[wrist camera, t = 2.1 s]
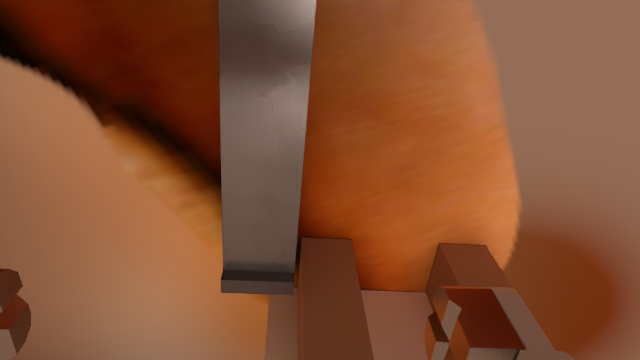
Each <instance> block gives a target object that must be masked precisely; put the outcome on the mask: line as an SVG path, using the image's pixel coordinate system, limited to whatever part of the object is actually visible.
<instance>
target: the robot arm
mask: <svg viewBox="0 0 640 360" xmlns="http://www.w3.org/2000/svg"><path fill="white" fill-rule="evenodd" d="M22 286H23V285H22V282H21V280H20V277H19V274H18V272H16V271H13V270H11V269H1V268H0V360H8V359H10V358H11V357H13V356H15V355H16V354H17V353H18V352H19V350H20V349H21V347H22V345H23V344H24V342H25V341H26V338H27V335H28V332H29V329H30V326H31V312H30V309H29V305H28V303H27V302H25V301H24V300H23V299H22V298H21V297H19V296H18V295H17V293H18V292H19V290H20V289H21V288H22ZM432 301H433V304H434V307H435V309H436V310H435V311H434V312H433V313H432V314H431V315H429V316H428V318H427V322H426V326H425V348H426V354H427V357H428V360H575V359H573V358H572V357H571V356H569V355H568V354H566V353H565V352H560V351H555V349H554V348H553V346H552V345H551V343H550V342H549V340H548V339H547V337H546V336H545V334H544V333H543V331H542V330H541V328H540V327H539V325H538V324H537V322H536V321H535V319H534V317H533V316H532V314H531V313H530V312H529V310H528V308H527V307H526V305H525V304H524V302H523V301H522V299H521V298H520V296H519V295H518V293H517V292H516V291H515V290H514V289H512V288H510V287H486V288H484V287H456V286H438V288H437V289H436V291H435V293H434V296H433V300H432Z"/></svg>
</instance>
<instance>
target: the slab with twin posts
mask: <svg viewBox="0 0 640 360" xmlns="http://www.w3.org/2000/svg"><path fill="white" fill-rule="evenodd" d="M438 286H456V287H484V288H486V287H510V288H512V289H513V287H512V286H511V284H510V283H509V281H508V280H507V278H506V277H505V275H504V274H503V272H502V270H501V269H500V267H499V265H498V264H497V262H496V261H495V259H494V258H493V256H492V255H491V253H490V251H489V250H488V248H487V247H486V246H484V245H462V244H441V243H439V246H438V249H437V253H436V257H435V260H434V264H433V268H432V271H431V275H430V279H429V282H428V286H427V290H426V292H401V291H373V290H361V288H360V283H359V278H358V273H357V267H356V262H355V257H354V251H353V246H352V241H351V239H332V238H310V237H302V242H301V253H300V264H299V276H298V287H297V288H294V292H293V295H276V294H270V296H269V309H268V322H267V335H266V348H265V360H428V357H427V354H426V348H425V326H426V322H427V318H428V316H429V315H431V314H432V313H433V312H434V311H435V310H436V309H435V307H434V304H433V301H432V300H433V296H434V293H435V291H436V289H437V288H438Z"/></svg>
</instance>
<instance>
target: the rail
mask: <svg viewBox="0 0 640 360" xmlns="http://www.w3.org/2000/svg"><path fill="white" fill-rule="evenodd" d="M315 12H316V0H218V24H219V78H220V132H221V186H222V241H223V273H222V277H221V292H222V293H247V294H276V295H293V292H294V271H295V258H296V246H297V234H298V221H299V209H300V197H301V184H302V172H303V160H304V147H305V135H306V123H307V110H308V98H309V86H310V73H311V61H312V49H313V37H314V24H315Z"/></svg>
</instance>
